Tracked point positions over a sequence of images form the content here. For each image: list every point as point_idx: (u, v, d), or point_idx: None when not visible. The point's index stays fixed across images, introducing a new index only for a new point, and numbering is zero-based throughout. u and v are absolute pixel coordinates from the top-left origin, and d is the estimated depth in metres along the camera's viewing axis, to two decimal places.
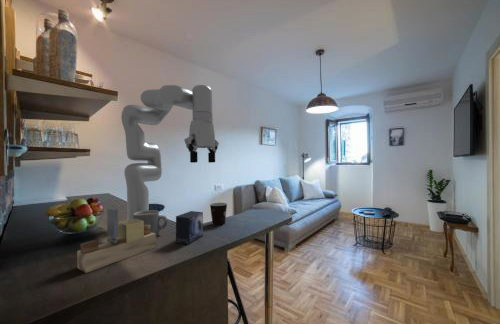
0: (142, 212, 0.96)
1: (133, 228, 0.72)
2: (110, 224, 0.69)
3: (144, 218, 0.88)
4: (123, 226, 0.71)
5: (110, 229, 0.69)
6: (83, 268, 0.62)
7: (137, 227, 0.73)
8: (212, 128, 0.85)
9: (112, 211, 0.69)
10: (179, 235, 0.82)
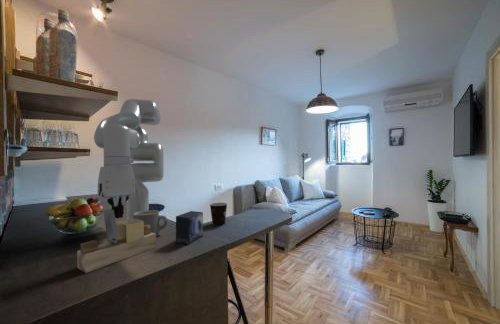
0: (142, 212, 0.96)
1: (133, 228, 0.72)
2: (108, 225, 0.69)
3: (144, 218, 0.88)
4: (123, 226, 0.71)
5: (109, 230, 0.69)
6: (83, 268, 0.62)
7: (137, 227, 0.73)
8: (130, 173, 0.73)
9: (108, 212, 0.68)
10: (179, 235, 0.82)
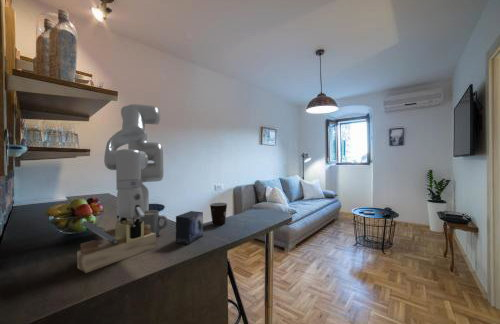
0: None
1: None
2: (97, 233, 0.66)
3: (144, 218, 0.88)
4: (123, 226, 0.71)
5: (101, 236, 0.67)
6: (83, 268, 0.62)
7: None
8: (127, 196, 0.71)
9: (88, 226, 0.63)
10: (179, 235, 0.82)
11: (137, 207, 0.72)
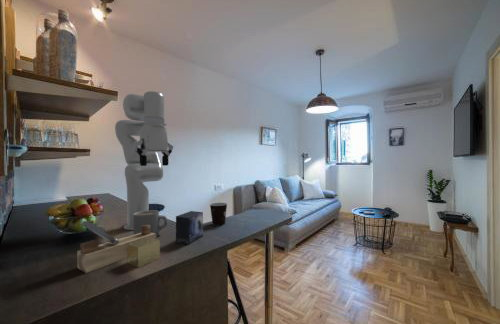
0: (142, 212, 0.96)
1: None
2: (97, 233, 0.66)
3: (144, 218, 0.88)
4: (155, 243, 0.68)
5: (101, 236, 0.67)
6: (83, 268, 0.62)
7: None
8: (164, 132, 0.88)
9: (88, 226, 0.63)
10: (179, 235, 0.82)
11: None
